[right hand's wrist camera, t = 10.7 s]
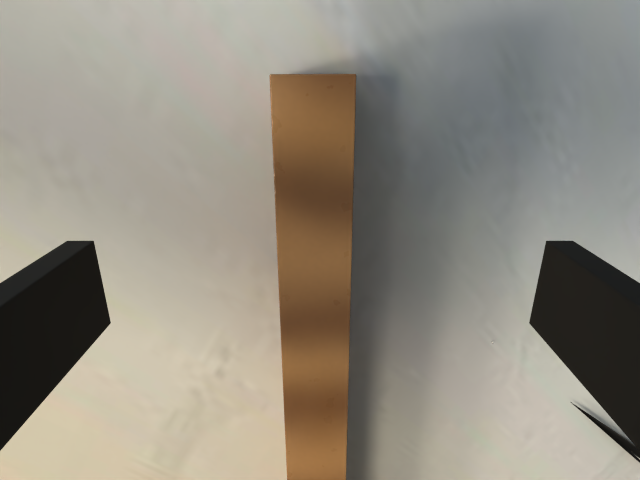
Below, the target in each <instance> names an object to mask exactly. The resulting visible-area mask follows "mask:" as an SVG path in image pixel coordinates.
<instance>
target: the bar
mask: <svg viewBox="0 0 640 480" xmlns="http://www.w3.org/2000/svg"><path fill="white" fill-rule="evenodd" d="M270 95H271V118H272V141H273V164H274V187H275V210H276V233H277V256H278V278H279V301H280V324H281V347H282V370H283V393H284V416H285V439H286V462H287V480H346V457H347V417H348V378H349V338H350V299H351V260H352V220H353V181H354V142H355V102H356V74H270Z"/></svg>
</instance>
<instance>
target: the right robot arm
mask: <svg viewBox="0 0 640 480" xmlns="http://www.w3.org/2000/svg"><path fill="white" fill-rule="evenodd" d="M110 323H111V322H110V317H109V313H108V308H107V303H106V298H105V293H104V288H103V284H102V279H101V274H100V269H99V264H98V260H97V255H96V250H95V245H94V241H66V242H65V243H63V244H62V245H60V246H58V247H57V248H55V249H54V250H52V251H51V252H49V253H47V254H46V255H44V256H43V257H41V258H39V259H38V260H36V261H35V262H33V263H32V264H30V265H28V266H27V267H25V268H24V269H22V270H20V271H19V272H17V273H16V274H14V275H13V276H11V277H9V278H8V279H6V280H5V281H3V282H2V283H0V450H1V449H2V448H3V447H4V446H5V445H6V443H7V442H8V441H9V440H10V439H11V438H12V437H13V435H14V434H15V433H16V432H17V431H18V430H19V428H20V427H21V426H22V425H23V424H24V423H25V421H26V420H27V419H28V418H29V417H30V416H31V415H32V413H33V412H34V411H35V410H36V409H37V408H38V406H39V405H40V404H41V403H42V402H43V401H44V400H45V398H46V397H47V396H48V395H49V394H50V393H51V391H52V390H53V389H54V388H55V387H56V386H57V385H58V383H59V382H60V381H61V380H62V379H63V378H64V376H65V375H66V374H67V373H68V372H69V371H70V369H71V368H72V367H73V366H74V365H75V364H76V363H77V361H78V360H79V359H80V358H81V357H82V356H83V354H84V353H85V352H86V351H87V350H88V349H89V348H90V346H91V345H92V344H93V343H94V342H95V341H96V339H97V338H98V337H99V336H100V335H101V334H102V332H103V331H104V330H105V329H106V328H107V327H108V326H109V324H110ZM529 323H530V324H531V326H532V327H533V328H534V329H535V330H536V331H537V332H538V334H539V335H540V336H541V337H542V338H543V339H544V341H545V342H546V343H547V344H548V345H549V346H550V348H551V349H552V350H553V351H554V352H555V353H556V354H557V356H558V357H559V358H560V359H561V360H562V361H563V363H564V364H565V365H566V366H567V367H568V368H569V369H570V371H571V372H572V373H573V374H574V375H575V376H576V378H577V379H578V380H579V381H580V382H581V383H582V385H583V386H584V387H585V388H586V389H587V390H588V391H589V393H590V394H591V395H592V396H593V397H594V398H595V400H596V401H597V402H598V403H599V404H600V405H601V406H602V408H603V409H604V410H605V411H606V412H607V413H608V415H609V416H610V417H611V418H612V419H613V420H614V421H615V423H616V424H617V425H618V426H619V427H620V428H621V430H622V431H623V432H624V433H625V434H626V435H627V437H628V438H629V439H630V440H631V441H632V442H633V443H634V445H635V446H636V447H637V448H638V449H639V450H640V283H638V282H637V281H635V280H634V279H632V278H631V277H629V276H627V275H626V274H624V273H623V272H621V271H620V270H618V269H616V268H615V267H613V266H612V265H610V264H608V263H607V262H605V261H604V260H602V259H601V258H599V257H597V256H596V255H594V254H593V253H591V252H589V251H588V250H586V249H585V248H583V247H582V246H580V245H578V244H577V243H575V242H574V241H546V245H545V250H544V255H543V260H542V264H541V269H540V274H539V279H538V284H537V288H536V293H535V298H534V303H533V308H532V313H531V317H530V322H529Z"/></svg>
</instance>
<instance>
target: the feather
mask: <svg viewBox="0 0 640 480" xmlns="http://www.w3.org/2000/svg"><path fill="white" fill-rule="evenodd" d="M492 344H494V342H493V341H492ZM572 404H573V403H572ZM573 405H574V404H573ZM574 406H576V405H574ZM576 407H577V406H576ZM577 408H578V409H579V410H580V411H581V412H582V413H584V414H585V415H586V416H587V417H588V418H589V419H590V420H592V421H593V422H594V423H595V424H596V425H597V426H599V427H600V428H601V429H602V430H603V431H604V432H605V433H607V434H608V435H609V436H610V437H611V438H612V439H613V440H614V441H616V442H617V443H618V444H619V445H620V446H621V447H622V448H624V449H625V450H626V451H627V452H628V453H629V454H631V455H632V456H633V457H634V458H635V459H636V460H637V461H639V462H640V460H639V459H638V458H637V457H639V458H640V450H639V449H638V448H637V447H636V446H635V445H634V444H632V443H631V442H629V441H628V440H627V439H625V438H624V437H622V436H621V435H619V434H618V433H616V432H615V431H613V430H612V429H610V428H609V427H607V426H606V425H604V424H603V423H601V422H600V421H598V420H597V419H595V418H594V417H592V416H591V415H589V414H588V413H586V412H585V411H583V410H582V409H580V408H579V407H577ZM635 455H636V456H637V457H636V456H635Z"/></svg>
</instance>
